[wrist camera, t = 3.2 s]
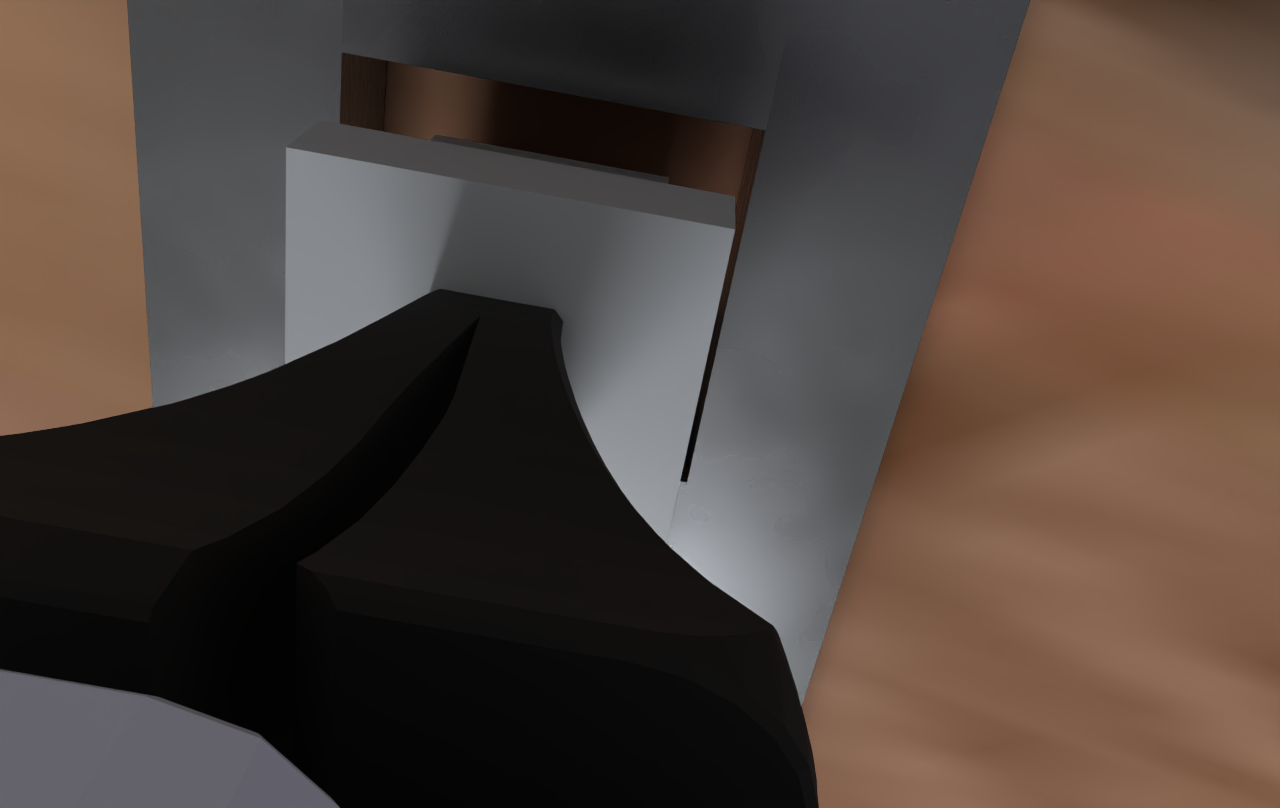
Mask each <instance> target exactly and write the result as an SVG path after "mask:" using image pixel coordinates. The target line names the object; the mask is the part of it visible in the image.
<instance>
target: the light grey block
mask: <svg viewBox="0 0 1280 808" xmlns="http://www.w3.org/2000/svg"><path fill="white" fill-rule="evenodd" d="M668 183H669V177H664V176H659V175H653V174H648V173H642V172H637V171H631V170H626V169H620V168H615V167H609V166H604V165H599V164H593V163H588V162H582V161H577V160H571V159H566V158H560V157H555V156H550V155H544V154H539V153H533V152H528V151H522V150H517V149H511V148H506V147H500V146H495V145H490V144H484V143H479V142H473V141H468V140H462V139H457V138H451V137H446V136H441V135H435V136H434V137H433V138H432V139H431V140H426V139H421V138H415V137H410V136H404V135H399V134H393V133H388V132H383V131H377V130H372V129H366V128H361V127H355V126H350V125H344V124H339V123H333V122H328V121H323V120H319V121H318V122H317V123H316V124H314V125H313V126H312V127H311V128H309V129H308V130H307V131H306V132H304V133H303V134H302V135H301V136H299V137H298V138H297V139H296V140H295V141H293V142H292V143H291V144H290V145H288V146H287V147H286V270H285V364H287V363H289V362H291V361H293V360H296V359H298V358H300V357H302V356H305V355H307V354H309V353H311V352H314V351H316V350H318V349H321V348H323V347H325V346H327V345H330V344H332V343H334V342H336V341H338V340H340V339H342V338H344V337H346V336H348V335H350V334H352V333H354V332H356V331H358V330H360V329H362V328H364V327H366V326H368V325H369V324H371V323H373V322H375V321H377V320H379V319H381V318H383V317H385V316H387V315H389V314H390V313H392V312H394V311H396V310H398V309H400V308H402V307H403V306H405V305H407V304H409V303H411V302H413V301H415V300H417V299H418V298H420V297H422V296H424V295H426V294H428V293H430V292H433V291H435V290H438V289H445V290H450V291H456V292H461V293H467V294H472V295H478V296H483V297H489V298H494V299H500V300H505V301H511V302H516V303H522V304H528V305H534V306H539V307H545V308H550V309H555V311H556V312H557V313H558V315H559V316H560V318H561V319H562V320H563V328H562V335H561V347H562V352H563V358H564V363H565V367H566V371H567V375H568V378H569V381H570V384H571V387H572V390H573V394H574V397H575V400H576V403H577V405H578V408H579V410H580V413H581V416H582V418H583V420H584V423H585V425H586V427H587V429H588V431H589V434H590V436H591V438H592V440H593V442H594V444H595V446H596V448H597V450H598V452H599V454H600V456H601V458H602V459H603V461H604V463H605V465H606V467H607V468H608V470H609V471H610V473H611V475H612V476H613V478H614V479H615V481H616V482H617V484H618V486H619V487H620V489H621V490H622V492H623V493H624V494H625V496H626V497H627V499H628V500H629V501H630V503H631V504H632V505H633V507H634V508H635V509H636V510H637V512H638V513H639V514H640V515H641V516H642V517H643V518H644V520H645V521H646V522H647V523H648V524H649V525H650V526H651V527H652V529H653V530H654V531H655V532H656V533H657V534H658V535H659V536H660V537H661V538H662V539H663V540H664V541H665V542H666V543H667V539H668V535H669V530H670V525H671V521H672V516H673V512H674V507H675V503H676V498H677V493H678V489H679V484H680V480H681V475H682V471H683V466H684V461H685V457H686V452H687V448H688V443H689V439H690V434H691V429H692V425H693V420H694V416H695V411H696V406H697V402H698V397H699V393H700V388H701V384H702V379H703V374H704V370H705V365H706V361H707V356H708V352H709V347H710V342H711V338H712V333H713V329H714V324H715V320H716V315H717V310H718V306H719V301H720V297H721V292H722V288H723V283H724V278H725V274H726V269H727V265H728V260H729V256H730V251H731V246H732V242H733V237H734V233H735V196H732V195H726V194H721V193H715V192H710V191H704V190H699V189H693V188H688V187H682V186H677V185H672V184H668Z"/></svg>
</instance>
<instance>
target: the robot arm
mask: <svg viewBox="0 0 1280 808" xmlns="http://www.w3.org/2000/svg"><path fill="white" fill-rule="evenodd" d="M562 328H563V320H562V319H561V318H560V316H559V315H558V313H557V312H556V311H555V309H550V308H545V307H539V306H534V305H528V304H522V303H516V302H511V301H505V300H500V299H494V298H489V297H483V296H478V295H472V294H467V293H461V292H456V291H450V290H445V289H438V290H435V291H433V292H430V293H428V294H426V295H424V296H422V297H420V298H418V299H417V300H415V301H413V302H411V303H409V304H407V305H405V306H403V307H402V308H400V309H398V310H396V311H394V312H392V313H390V314H389V315H387V316H385V317H383V318H381V319H379V320H377V321H375V322H373V323H371V324H369V325H368V326H366V327H364V328H362V329H360V330H358V331H356V332H354V333H352V334H350V335H348V336H346V337H344V338H342V339H340V340H338V341H336V342H334V343H332V344H330V345H327V346H325V347H323V348H321V349H318V350H316V351H314V352H311V353H309V354H307V355H305V356H302V357H300V358H298V359H296V360H293V361H291V362H289V363H287V364H284V365H282V366H280V367H278V368H275V369H273V370H271V371H268V372H266V373H263V374H260V375H258V376H255V377H253V378H250V379H247V380H244V381H241V382H239V383H236V384H233V385H230V386H227V387H224V388H221V389H217V390H214V391H211V392H208V393H205V394H201V395H198V396H195V397H192V398H189V399H185V400H182V401H178V402H174V403H171V404H167V405H162V406H158V407H154V408H149V409H145V410H140V411H136V412H131V413H127V414H122V415H118V416H113V417H109V418H105V419H100V420H96V421H91V422H87V423H82V424H77V425H71V426H65V427H59V428H53V429H46V430H40V431H33V432H27V433H21V434H13V435H4V436H0V808H819V805H818V795H817V780H816V772H815V766H814V759H813V753H812V748H811V744H810V740H809V735H808V731H807V727H806V722H805V718H804V714H803V711H802V707H801V703H800V699H799V696H798V692H797V688H796V685H795V682H794V678H793V675H792V672H791V669H790V666H789V663H788V660H787V657H786V654H785V651H784V648H783V645H782V642H781V639H780V637H779V634H778V632H777V630H776V629H775V627H774V626H773V625H772V624H770V623H769V622H767V621H766V620H764V619H763V618H762V617H760V616H759V615H757V614H756V613H754V612H753V611H751V610H750V609H749V608H747V607H746V606H744V605H743V604H741V603H740V602H738V601H737V600H736V599H734V598H733V597H731V596H730V595H728V594H727V593H725V592H724V591H723V590H721V589H720V588H718V587H717V586H715V585H714V584H712V583H711V582H710V581H708V580H707V579H706V578H705V577H704V576H702V575H701V574H700V573H699V572H698V571H697V570H695V569H694V568H693V567H692V566H691V565H690V564H689V563H687V562H686V561H685V560H684V559H683V558H682V557H681V556H680V555H678V554H677V553H676V552H675V551H674V550H673V549H672V548H671V547H670V546H669V545H668V544H667V543H666V542H665V541H664V540H663V539H662V538H661V537H660V536H659V535H658V534H657V533H656V532H655V531H654V530H653V529H652V527H651V526H650V525H649V524H648V523H647V522H646V521H645V520H644V518H643V517H642V516H641V515H640V514H639V513H638V512H637V510H636V509H635V508H634V507H633V505H632V504H631V503H630V501H629V500H628V499H627V497H626V496H625V494H624V493H623V492H622V490H621V489H620V487H619V486H618V484H617V482H616V481H615V479H614V478H613V476H612V475H611V473H610V471H609V470H608V468H607V467H606V465H605V463H604V461H603V459H602V458H601V456H600V454H599V452H598V450H597V448H596V446H595V444H594V442H593V440H592V438H591V436H590V434H589V431H588V429H587V427H586V425H585V423H584V420H583V418H582V416H581V413H580V410H579V408H578V405H577V403H576V400H575V397H574V394H573V390H572V387H571V384H570V381H569V378H568V375H567V371H566V367H565V363H564V358H563V352H562V347H561V335H562Z"/></svg>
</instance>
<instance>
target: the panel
mask: <svg viewBox="0 0 1280 808" xmlns="http://www.w3.org/2000/svg"><path fill="white" fill-rule="evenodd" d="M1029 3H1030V0H127V7H128V23H129V38H130V54H131V70H132V86H133V101H134V117H135V133H136V148H137V164H138V180H139V196H140V211H141V227H142V243H143V258H144V274H145V290H146V305H147V321H148V337H149V353H150V368H151V384H152V400H153V408H154V407H158V406H162V405H167V404H171V403H174V402H178V401H182V400H185V399H189V398H192V397H195V396H198V395H201V394H205V393H208V392H211V391H214V390H217V389H221V388H224V387H227V386H230V385H233V384H236V383H239V382H241V381H244V380H247V379H250V378H253V377H255V376H258V375H260V374H263V373H266V372H268V371H271V370H273V369H275V368H278V367H280V366H282V365H284V364H285V270H286V147H287V146H288V145H290V144H291V143H292V142H293V141H295V140H296V139H297V138H298V137H299V136H301V135H302V134H303V133H304V132H306V131H307V130H308V129H309V128H311V127H312V126H313V125H314V124H316V123H317V122H318V121H319V120H323V121H328V122H333V123H339V124H344V125H350V126H355V127H361V128H366V129H372V130H377V131H383V125H384V105H385V84H386V64H387V61H392V62H398V63H403V64H409V65H414V66H419V67H425V68H430V69H436V70H441V71H446V72H452V73H457V74H463V75H468V76H474V77H479V78H484V79H490V80H495V81H501V82H506V83H512V84H517V85H522V86H528V87H533V88H539V89H544V90H550V91H555V92H560V93H566V94H571V95H577V96H582V97H588V98H593V99H598V100H604V101H609V102H615V103H620V104H625V105H631V106H636V107H642V108H647V109H653V110H658V111H663V112H669V113H674V114H680V115H685V116H691V117H696V118H701V119H707V120H712V121H718V122H723V123H729V124H734V125H739V126H745V127H750V128H753V132H752V137H751V142H750V146H749V151H748V155H747V160H746V165H745V169H744V174H743V179H742V183H741V188H740V192H739V197H738V202H737V206H736V211H735V233H734V237H733V242H732V246H731V251H730V256H729V260H728V265H727V269H726V274H725V278H724V283H723V288H722V292H721V297H720V301H719V306H718V310H717V315H716V320H715V324H714V329H713V333H712V338H711V342H710V347H709V352H708V356H707V361H706V365H705V370H704V374H703V379H702V384H701V388H700V393H699V397H698V402H697V406H696V411H695V416H694V420H693V425H692V429H691V434H690V439H689V443H688V448H687V452H686V457H685V461H684V466H683V471H682V475H681V480H680V484H679V489H678V493H677V498H676V503H675V507H674V512H673V516H672V521H671V525H670V530H669V535H668V539H667V544H668V545H669V546H670V547H671V548H672V549H673V550H674V551H675V552H676V553H677V554H678V555H680V556H681V557H682V558H683V559H684V560H685V561H686V562H687V563H689V564H690V565H691V566H692V567H693V568H694V569H695V570H697V571H698V572H699V573H700V574H701V575H702V576H704V577H705V578H706V579H707V580H708V581H710V582H711V583H712V584H714V585H715V586H717V587H718V588H720V589H721V590H723V591H724V592H725V593H727V594H728V595H730V596H731V597H733V598H734V599H736V600H737V601H738V602H740V603H741V604H743V605H744V606H746V607H747V608H749V609H750V610H751V611H753V612H754V613H756V614H757V615H759V616H760V617H762V618H763V619H764V620H766V621H767V622H769V623H770V624H772V625H773V626H774V627H775V629H776V630H777V632H778V634H779V637H780V639H781V642H782V645H783V648H784V651H785V654H786V657H787V660H788V663H789V666H790V669H791V672H792V675H793V678H794V682H795V685H796V688H797V692H798V696H799V699H800V703H801V707H802V704H803V701H804V698H805V695H806V691H807V688H808V685H809V682H810V679H811V676H812V673H813V670H814V667H815V664H816V661H817V657H818V654H819V651H820V648H821V645H822V642H823V639H824V636H825V633H826V630H827V627H828V623H829V620H830V617H831V614H832V611H833V608H834V605H835V602H836V599H837V596H838V593H839V590H840V586H841V583H842V580H843V577H844V574H845V571H846V568H847V565H848V562H849V559H850V556H851V552H852V549H853V546H854V543H855V540H856V537H857V534H858V531H859V528H860V525H861V522H862V518H863V515H864V512H865V509H866V506H867V503H868V500H869V497H870V494H871V491H872V488H873V485H874V481H875V478H876V475H877V472H878V469H879V466H880V463H881V460H882V457H883V454H884V451H885V447H886V444H887V441H888V438H889V435H890V432H891V429H892V426H893V423H894V420H895V417H896V413H897V410H898V407H899V404H900V401H901V398H902V395H903V392H904V389H905V386H906V383H907V380H908V376H909V373H910V370H911V367H912V364H913V361H914V358H915V355H916V352H917V349H918V346H919V342H920V339H921V336H922V333H923V330H924V327H925V324H926V321H927V318H928V315H929V312H930V308H931V305H932V302H933V299H934V296H935V293H936V290H937V287H938V284H939V281H940V278H941V274H942V271H943V268H944V265H945V262H946V259H947V256H948V253H949V250H950V247H951V244H952V241H953V237H954V234H955V231H956V228H957V225H958V222H959V219H960V216H961V213H962V210H963V207H964V203H965V200H966V197H967V194H968V191H969V188H970V185H971V182H972V179H973V176H974V173H975V169H976V166H977V163H978V160H979V157H980V154H981V151H982V148H983V145H984V142H985V139H986V136H987V132H988V129H989V126H990V123H991V120H992V117H993V114H994V111H995V108H996V105H997V102H998V98H999V95H1000V92H1001V89H1002V86H1003V83H1004V80H1005V77H1006V74H1007V71H1008V68H1009V64H1010V61H1011V58H1012V55H1013V52H1014V49H1015V46H1016V43H1017V40H1018V37H1019V34H1020V30H1021V27H1022V24H1023V21H1024V18H1025V15H1026V12H1027V9H1028V6H1029Z"/></svg>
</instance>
